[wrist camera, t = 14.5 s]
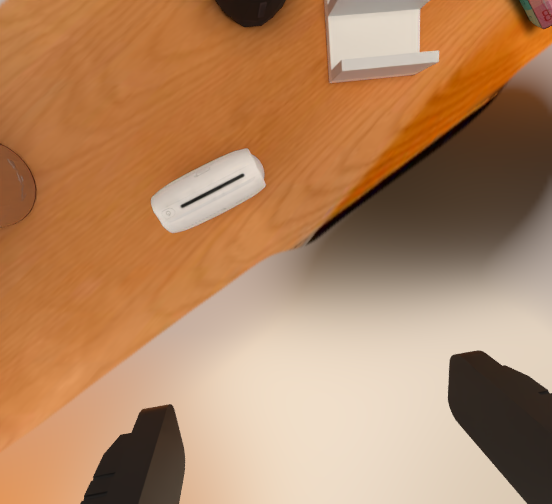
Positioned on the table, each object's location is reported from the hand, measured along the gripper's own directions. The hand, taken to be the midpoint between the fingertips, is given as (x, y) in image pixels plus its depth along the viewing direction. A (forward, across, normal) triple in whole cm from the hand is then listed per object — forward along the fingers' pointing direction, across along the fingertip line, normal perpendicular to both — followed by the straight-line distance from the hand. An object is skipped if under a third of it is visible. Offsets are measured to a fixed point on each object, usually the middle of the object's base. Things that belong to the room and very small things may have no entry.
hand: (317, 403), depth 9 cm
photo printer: (+30, +4, -5) cm, 31 cm away
